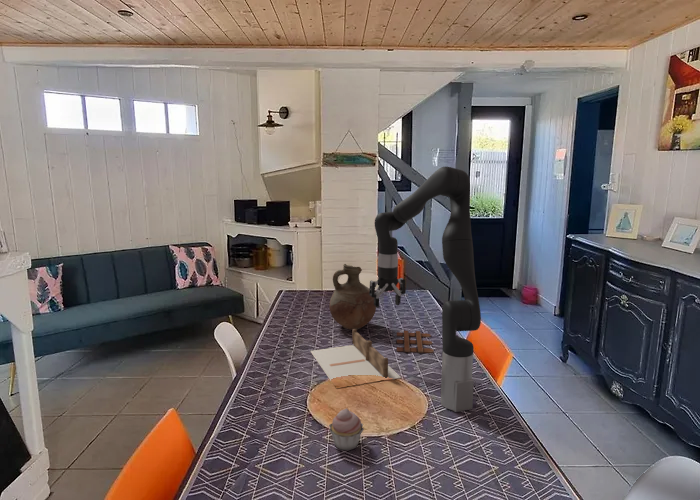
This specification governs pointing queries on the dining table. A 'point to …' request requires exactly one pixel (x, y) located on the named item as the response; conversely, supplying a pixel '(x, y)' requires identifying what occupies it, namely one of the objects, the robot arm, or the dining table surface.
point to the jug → (351, 300)
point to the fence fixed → (376, 359)
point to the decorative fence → (413, 342)
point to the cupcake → (346, 430)
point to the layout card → (347, 362)
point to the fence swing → (359, 341)
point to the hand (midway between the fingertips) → (387, 306)
